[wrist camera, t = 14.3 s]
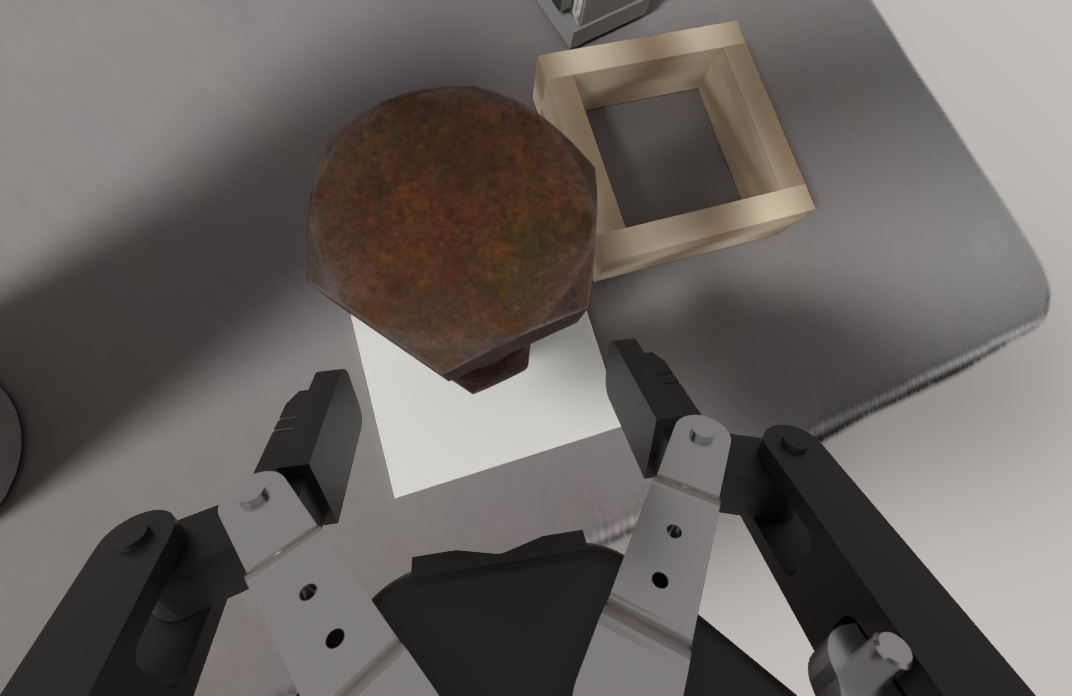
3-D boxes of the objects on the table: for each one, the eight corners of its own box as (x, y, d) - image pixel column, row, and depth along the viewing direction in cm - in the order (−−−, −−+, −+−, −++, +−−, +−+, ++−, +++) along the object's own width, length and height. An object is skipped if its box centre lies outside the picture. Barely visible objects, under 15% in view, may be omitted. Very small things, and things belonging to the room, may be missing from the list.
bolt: (553, 345, 23) (664, 197, 8) (499, 424, 22) (512, 422, 7) (464, 283, 23) (411, 26, 8) (405, 360, 22) (223, 224, 7)
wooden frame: (593, 282, 24) (607, 262, 21) (532, 97, 26) (537, 55, 23) (778, 233, 26) (815, 209, 23) (710, 63, 27) (736, 20, 24)
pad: (396, 497, 21) (394, 498, 21) (342, 272, 23) (339, 269, 22) (621, 425, 23) (623, 425, 22) (555, 221, 24) (556, 218, 24)
